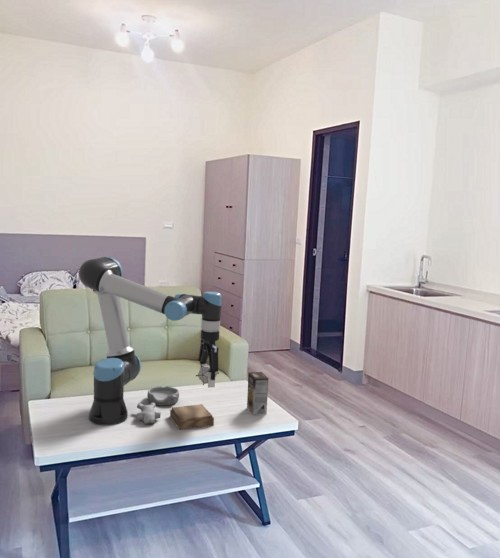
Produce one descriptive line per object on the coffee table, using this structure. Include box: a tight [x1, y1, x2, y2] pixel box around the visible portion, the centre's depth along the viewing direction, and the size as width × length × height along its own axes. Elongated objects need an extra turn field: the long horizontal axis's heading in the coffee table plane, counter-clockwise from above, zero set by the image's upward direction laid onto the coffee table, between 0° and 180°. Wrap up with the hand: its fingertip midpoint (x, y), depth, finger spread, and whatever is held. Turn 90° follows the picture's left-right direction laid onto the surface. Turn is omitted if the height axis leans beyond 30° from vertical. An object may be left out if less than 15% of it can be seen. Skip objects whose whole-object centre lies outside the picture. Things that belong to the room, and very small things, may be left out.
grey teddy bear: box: [136, 402, 162, 425], centre depth 220 cm, size 10×5×15 cm
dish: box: [146, 385, 180, 406], centre depth 240 cm, size 14×14×5 cm
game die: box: [195, 364, 220, 386], centre depth 222 cm, size 9×8×10 cm
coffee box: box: [246, 371, 269, 416], centre depth 232 cm, size 9×6×16 cm
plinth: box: [169, 403, 215, 430], centre depth 219 cm, size 14×14×4 cm
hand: (206, 383), depth 222 cm, fingers closed on game die, 9 cm apart
